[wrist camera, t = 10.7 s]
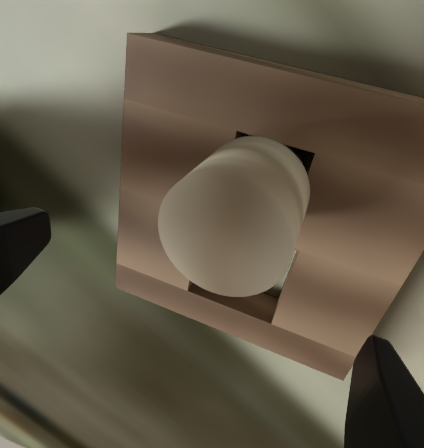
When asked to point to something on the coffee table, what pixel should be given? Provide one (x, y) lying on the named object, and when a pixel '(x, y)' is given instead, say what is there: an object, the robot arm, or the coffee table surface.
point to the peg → (237, 216)
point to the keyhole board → (318, 203)
